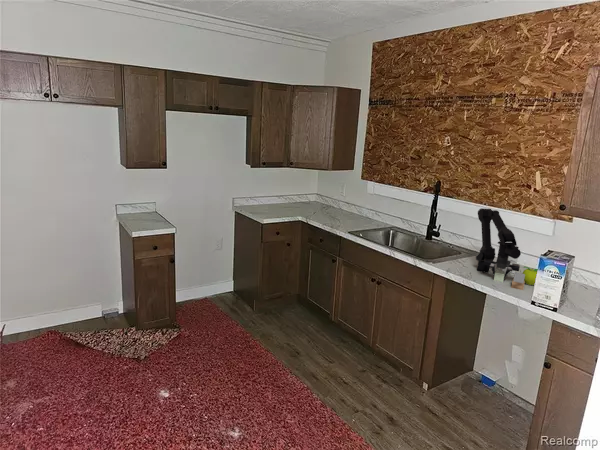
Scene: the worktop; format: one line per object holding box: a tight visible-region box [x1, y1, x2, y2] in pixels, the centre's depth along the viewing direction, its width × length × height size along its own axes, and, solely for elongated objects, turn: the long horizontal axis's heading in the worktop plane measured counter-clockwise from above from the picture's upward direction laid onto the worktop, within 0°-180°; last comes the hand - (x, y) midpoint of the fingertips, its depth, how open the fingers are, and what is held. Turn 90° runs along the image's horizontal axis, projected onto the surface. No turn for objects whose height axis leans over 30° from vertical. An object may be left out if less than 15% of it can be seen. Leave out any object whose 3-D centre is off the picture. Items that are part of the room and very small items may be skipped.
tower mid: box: [513, 271, 525, 284], centre depth 229 cm, size 5×5×4 cm
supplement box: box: [500, 256, 519, 274], centre depth 257 cm, size 7×7×13 cm
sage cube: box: [493, 269, 505, 283], centre depth 240 cm, size 5×5×5 cm
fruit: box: [521, 266, 539, 286], centre depth 235 cm, size 9×9×10 cm
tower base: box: [510, 277, 526, 291], centre depth 230 cm, size 6×6×4 cm
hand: (498, 278), depth 240 cm, fingers closed on sage cube, 5 cm apart
